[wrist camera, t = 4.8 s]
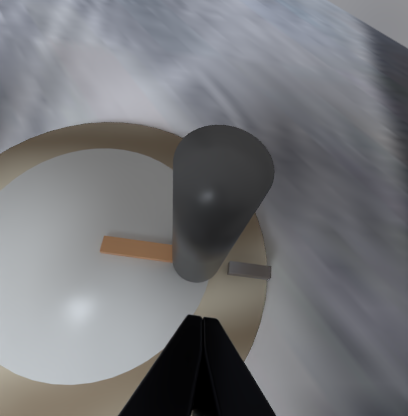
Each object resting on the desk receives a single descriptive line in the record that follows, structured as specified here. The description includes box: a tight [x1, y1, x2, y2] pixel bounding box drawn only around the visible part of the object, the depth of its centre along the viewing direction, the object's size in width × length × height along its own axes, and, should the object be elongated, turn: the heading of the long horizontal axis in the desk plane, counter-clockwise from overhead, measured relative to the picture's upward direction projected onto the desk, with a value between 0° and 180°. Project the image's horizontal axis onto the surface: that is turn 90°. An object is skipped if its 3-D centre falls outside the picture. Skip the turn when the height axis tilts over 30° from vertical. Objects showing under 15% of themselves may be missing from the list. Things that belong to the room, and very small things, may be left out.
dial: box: [0, 125, 274, 385], centre depth 10 cm, size 12×12×9 cm
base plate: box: [0, 122, 271, 416], centre depth 14 cm, size 18×18×2 cm
